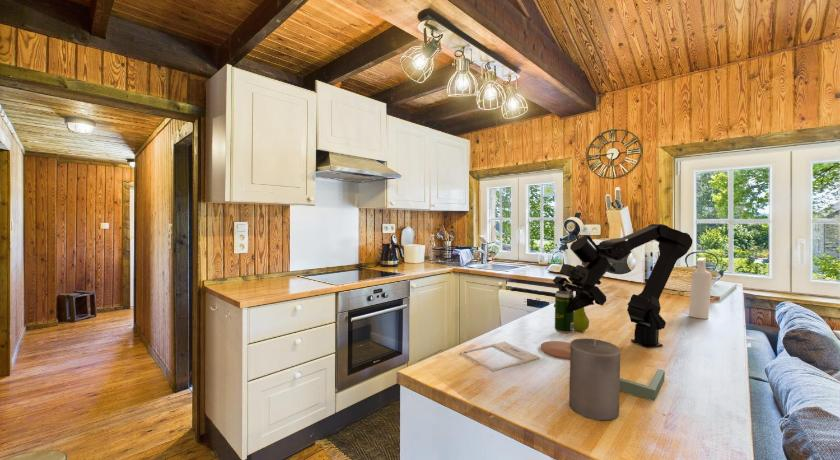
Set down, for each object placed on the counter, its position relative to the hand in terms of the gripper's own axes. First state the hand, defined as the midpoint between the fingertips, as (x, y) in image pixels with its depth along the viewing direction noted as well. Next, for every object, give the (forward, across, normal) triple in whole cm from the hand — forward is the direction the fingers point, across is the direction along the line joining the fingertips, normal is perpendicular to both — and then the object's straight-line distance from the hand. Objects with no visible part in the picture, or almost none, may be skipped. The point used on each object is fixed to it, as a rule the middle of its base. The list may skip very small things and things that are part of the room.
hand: (560, 309), depth 107 cm
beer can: (+4, 0, +6) cm, 7 cm away
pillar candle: (+18, +30, 0) cm, 35 cm away
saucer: (+8, 0, +10) cm, 13 cm away
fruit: (-4, -17, +23) cm, 29 cm away
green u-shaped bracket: (+7, +20, +12) cm, 24 cm away
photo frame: (+24, 0, -5) cm, 24 cm away
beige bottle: (-48, -23, +68) cm, 87 cm away
